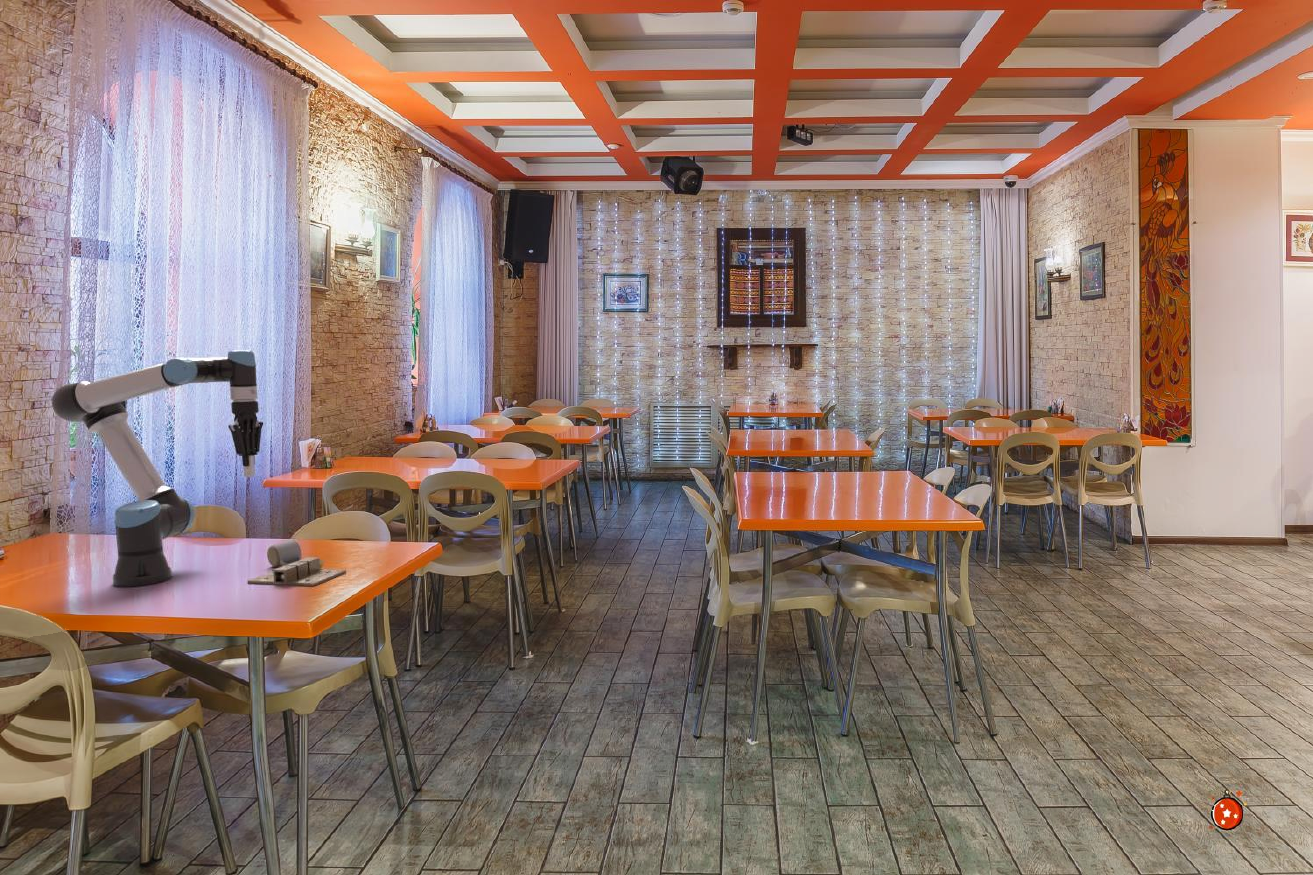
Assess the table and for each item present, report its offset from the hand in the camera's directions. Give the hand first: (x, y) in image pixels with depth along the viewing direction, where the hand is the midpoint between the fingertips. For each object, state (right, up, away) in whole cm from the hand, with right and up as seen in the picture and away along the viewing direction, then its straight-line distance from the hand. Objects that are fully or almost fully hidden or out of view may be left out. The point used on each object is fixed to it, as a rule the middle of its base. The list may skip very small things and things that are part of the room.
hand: (249, 476), depth 265 cm
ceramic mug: (+9, -29, +7) cm, 31 cm away
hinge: (+19, -30, -10) cm, 37 cm away
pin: (+19, -30, -9) cm, 37 cm away
